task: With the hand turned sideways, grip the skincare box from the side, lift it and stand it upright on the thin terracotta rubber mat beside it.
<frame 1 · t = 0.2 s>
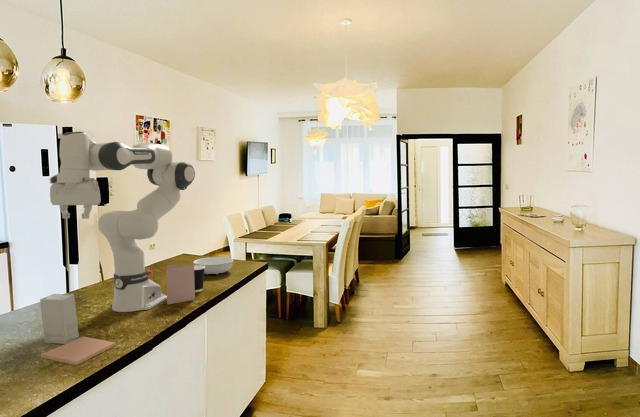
hand: (75, 218, 143), 39 cm above the counter, tool pointing down, fingers open, 8 cm apart
serving bowl: (213, 273, 224), on the counter
greeting card: (179, 302, 175), on the counter
terracotta mat: (79, 351, 127), on the counter
skincare box: (61, 341, 135), on the counter
dixie cup: (196, 291, 191), on the counter
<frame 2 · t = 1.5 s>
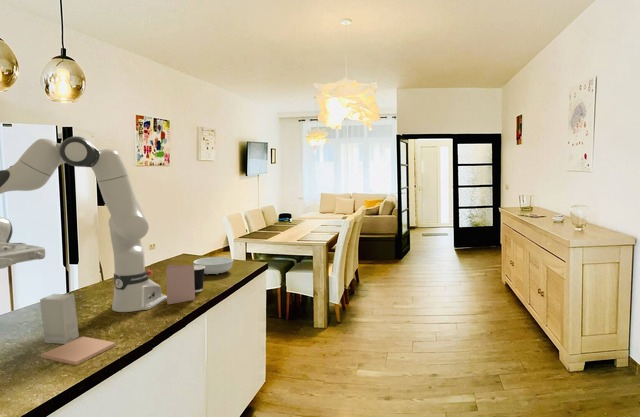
hand: (28, 259, 137), 26 cm above the counter, tool horizontal, fingers open, 8 cm apart
nothing on the counter moved.
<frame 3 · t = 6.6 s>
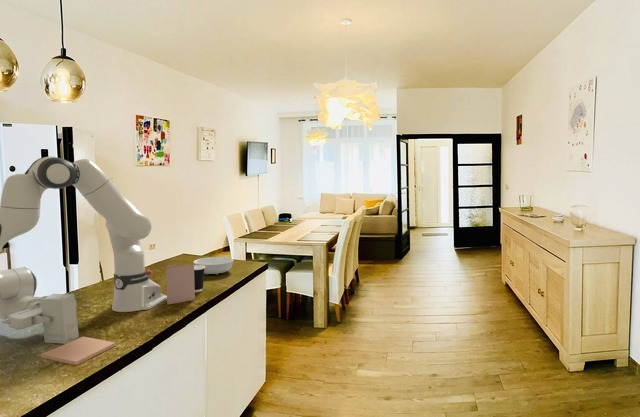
hand: (61, 315, 134), 8 cm above the counter, tool horizontal, fingers closed on skincare box, 6 cm apart
skincare box: (61, 340, 135), on the counter, touching gripper
everything else where it was.
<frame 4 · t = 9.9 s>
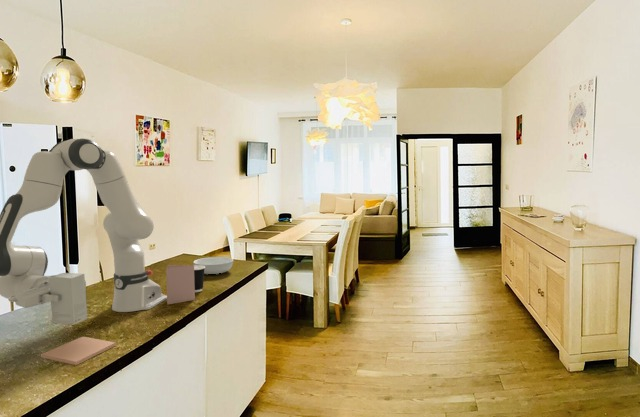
hand: (70, 294, 128), 17 cm above the counter, tool horizontal, fingers closed on skincare box, 6 cm apart
skincare box: (69, 322, 129), point 8 cm above the counter, touching gripper
everything else where it was.
when the fingers open (10 cm above the counter, at t = 13.2 s): skincare box stays where it is, resting on terracotta mat.
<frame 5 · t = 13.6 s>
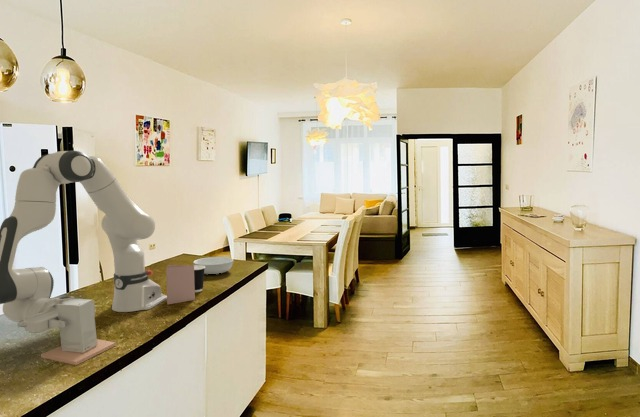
hand: (80, 318, 126), 10 cm above the counter, tool horizontal, fingers open, 8 cm apart
skincare box: (78, 349, 127), point 1 cm above the counter, touching terracotta mat
everything else where it was.
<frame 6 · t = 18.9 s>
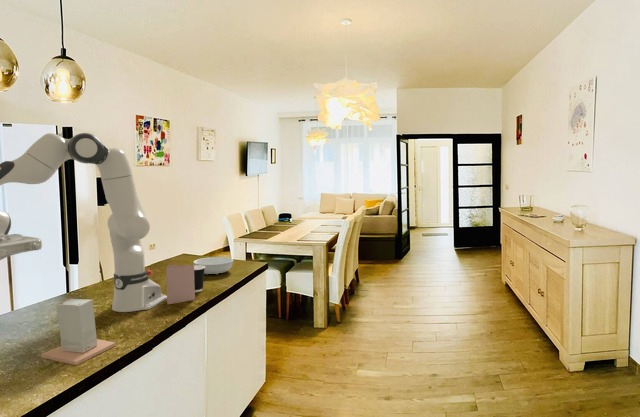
hand: (23, 250, 132), 30 cm above the counter, tool horizontal, fingers open, 8 cm apart
nothing on the counter moved.
at the end: skincare box inside the target area on the terracotta mat (0.3 cm from its centre), point 0.8 cm above the terracotta mat's base; skincare box tilted 0°; the gripper is holding nothing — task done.
